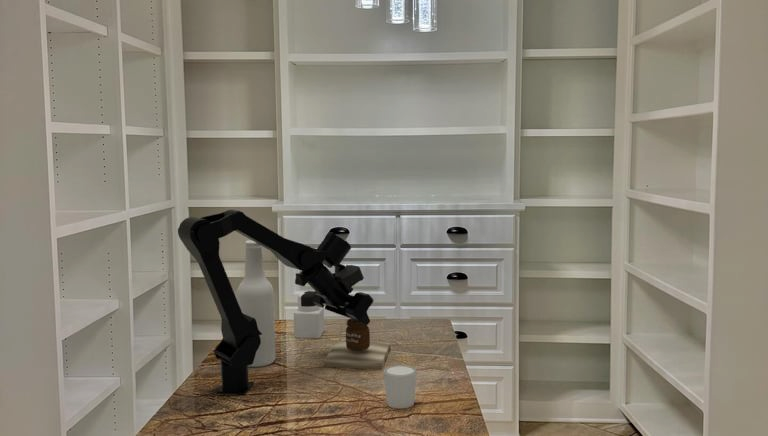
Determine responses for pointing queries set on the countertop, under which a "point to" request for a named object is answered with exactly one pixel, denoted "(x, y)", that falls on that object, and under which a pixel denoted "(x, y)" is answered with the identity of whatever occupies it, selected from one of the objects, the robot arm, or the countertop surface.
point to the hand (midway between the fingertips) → (361, 320)
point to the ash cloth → (357, 356)
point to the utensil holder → (357, 335)
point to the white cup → (400, 386)
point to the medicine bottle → (308, 317)
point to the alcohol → (258, 303)
